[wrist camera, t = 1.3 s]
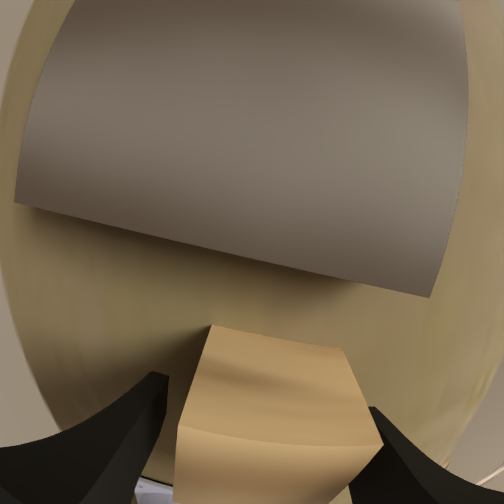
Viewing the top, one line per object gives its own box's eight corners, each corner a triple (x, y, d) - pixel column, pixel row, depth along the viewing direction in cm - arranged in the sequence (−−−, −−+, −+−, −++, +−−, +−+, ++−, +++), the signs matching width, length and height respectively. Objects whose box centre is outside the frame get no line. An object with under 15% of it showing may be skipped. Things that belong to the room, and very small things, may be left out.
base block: (385, 266, 9) (429, 298, 6) (68, 195, 9) (14, 202, 6) (420, 3, 6) (451, -27, 3) (157, -45, 6) (138, -81, 3)
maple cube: (301, 430, 11) (312, 517, 6) (196, 413, 11) (172, 501, 6) (341, 347, 10) (383, 444, 5) (212, 323, 10) (178, 424, 5)
